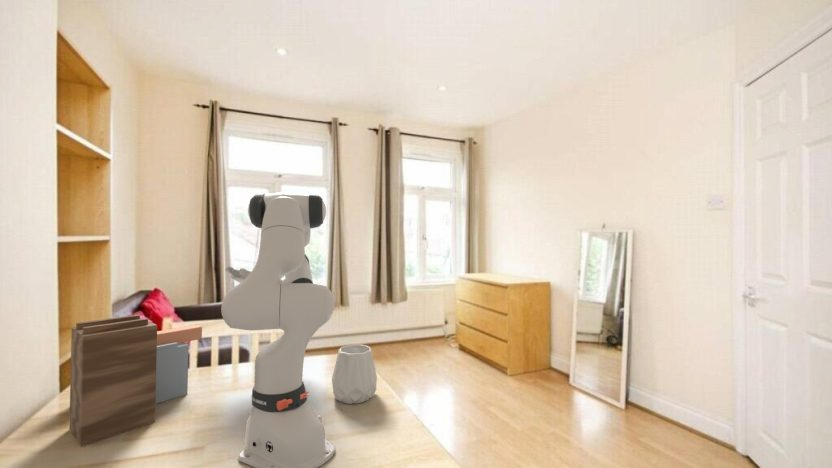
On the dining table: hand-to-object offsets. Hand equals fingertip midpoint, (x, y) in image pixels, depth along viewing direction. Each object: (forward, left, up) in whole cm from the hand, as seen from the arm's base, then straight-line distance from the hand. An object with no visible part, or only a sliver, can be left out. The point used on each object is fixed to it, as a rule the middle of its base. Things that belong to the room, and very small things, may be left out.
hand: (233, 269), depth 127 cm
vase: (-41, -19, -39) cm, 59 cm away
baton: (+6, +19, -23) cm, 30 cm away
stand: (-6, +34, -38) cm, 51 cm away
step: (+6, +19, -38) cm, 43 cm away
